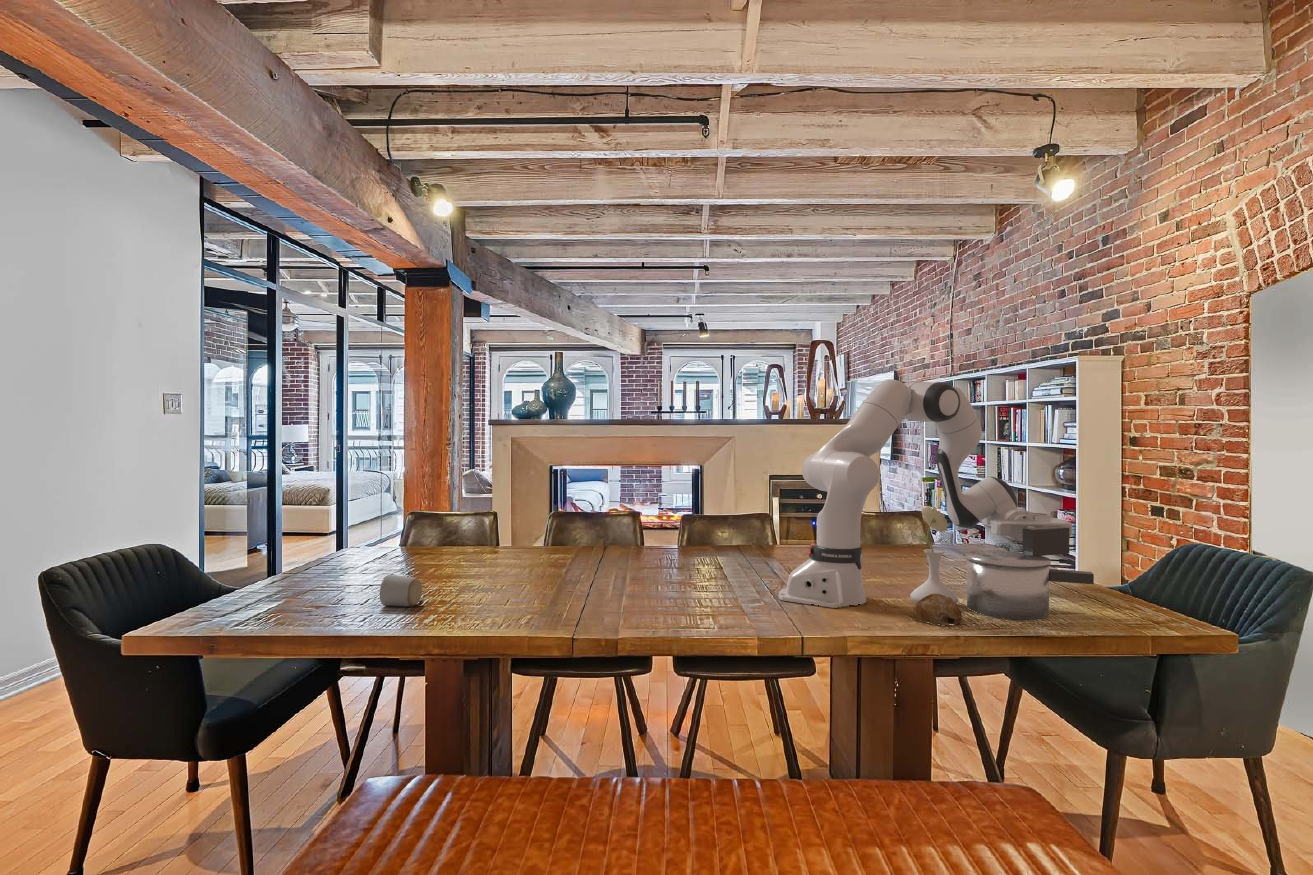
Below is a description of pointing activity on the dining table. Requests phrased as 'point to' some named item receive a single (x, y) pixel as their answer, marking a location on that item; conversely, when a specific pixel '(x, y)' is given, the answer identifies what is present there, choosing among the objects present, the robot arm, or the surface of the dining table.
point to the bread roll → (938, 610)
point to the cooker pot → (1015, 590)
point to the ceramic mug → (400, 591)
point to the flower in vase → (933, 559)
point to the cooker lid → (1028, 549)
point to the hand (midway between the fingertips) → (1045, 532)
